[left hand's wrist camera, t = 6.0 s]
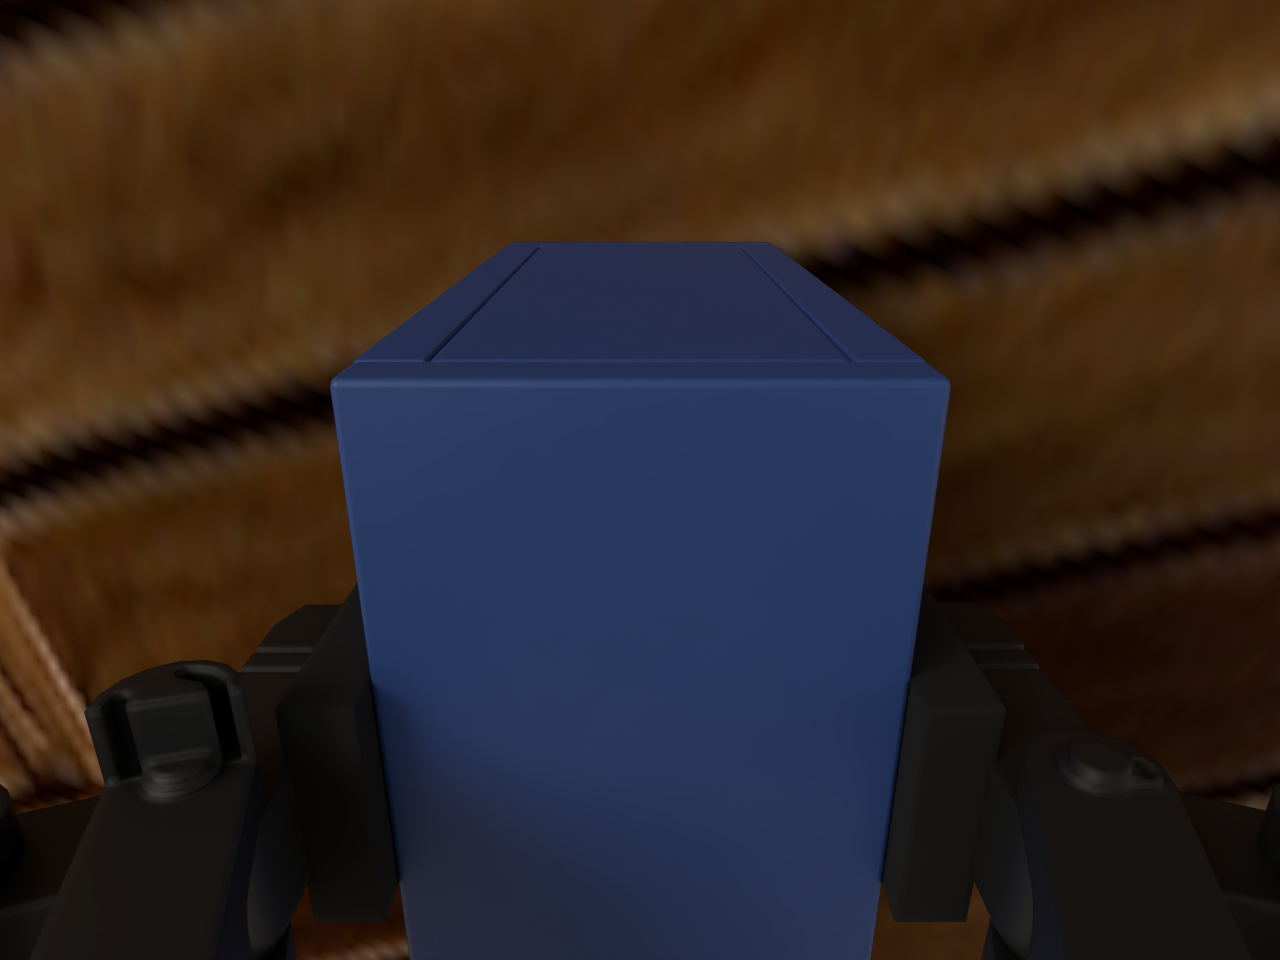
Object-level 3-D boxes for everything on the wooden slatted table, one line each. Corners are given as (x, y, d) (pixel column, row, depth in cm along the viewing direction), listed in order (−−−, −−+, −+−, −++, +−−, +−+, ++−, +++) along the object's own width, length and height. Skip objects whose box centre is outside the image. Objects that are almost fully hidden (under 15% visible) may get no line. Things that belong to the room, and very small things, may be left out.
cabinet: (733, 924, 25) (799, 1481, 14) (547, 924, 25) (480, 1481, 14) (771, 241, 17) (955, 379, 7) (510, 241, 17) (326, 379, 7)
